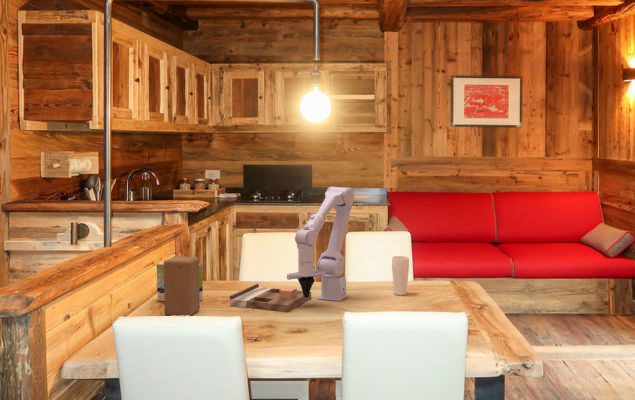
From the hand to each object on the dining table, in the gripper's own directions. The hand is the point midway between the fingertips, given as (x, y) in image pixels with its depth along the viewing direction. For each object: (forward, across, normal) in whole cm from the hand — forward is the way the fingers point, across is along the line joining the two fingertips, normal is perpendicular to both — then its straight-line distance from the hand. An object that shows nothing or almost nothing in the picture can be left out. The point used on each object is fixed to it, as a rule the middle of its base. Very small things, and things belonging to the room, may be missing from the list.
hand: (306, 296), depth 244 cm
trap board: (+3, +10, -9) cm, 14 cm away
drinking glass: (+3, -41, -3) cm, 42 cm away
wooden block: (+3, +45, -6) cm, 46 cm away
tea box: (+4, +43, -24) cm, 50 cm away
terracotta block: (+1, +6, -5) cm, 8 cm away
